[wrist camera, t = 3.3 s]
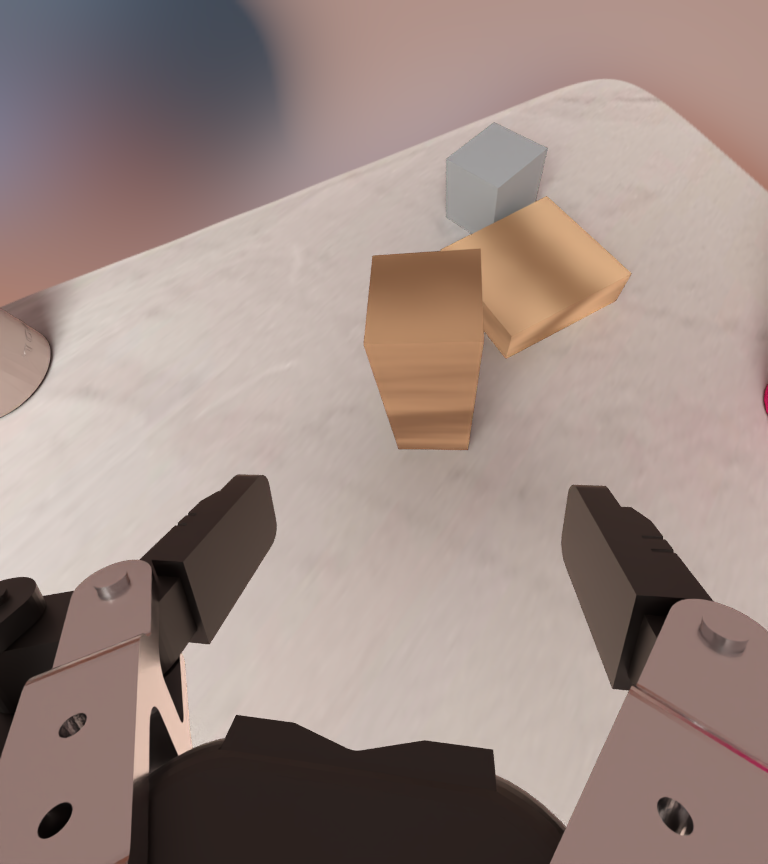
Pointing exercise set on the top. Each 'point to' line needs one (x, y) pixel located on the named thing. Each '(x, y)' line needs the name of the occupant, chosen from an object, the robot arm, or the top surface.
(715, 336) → the top surface
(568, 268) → the oak base
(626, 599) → the robot arm
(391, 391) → the walnut pillar
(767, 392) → the pepper mill
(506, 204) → the slate block
